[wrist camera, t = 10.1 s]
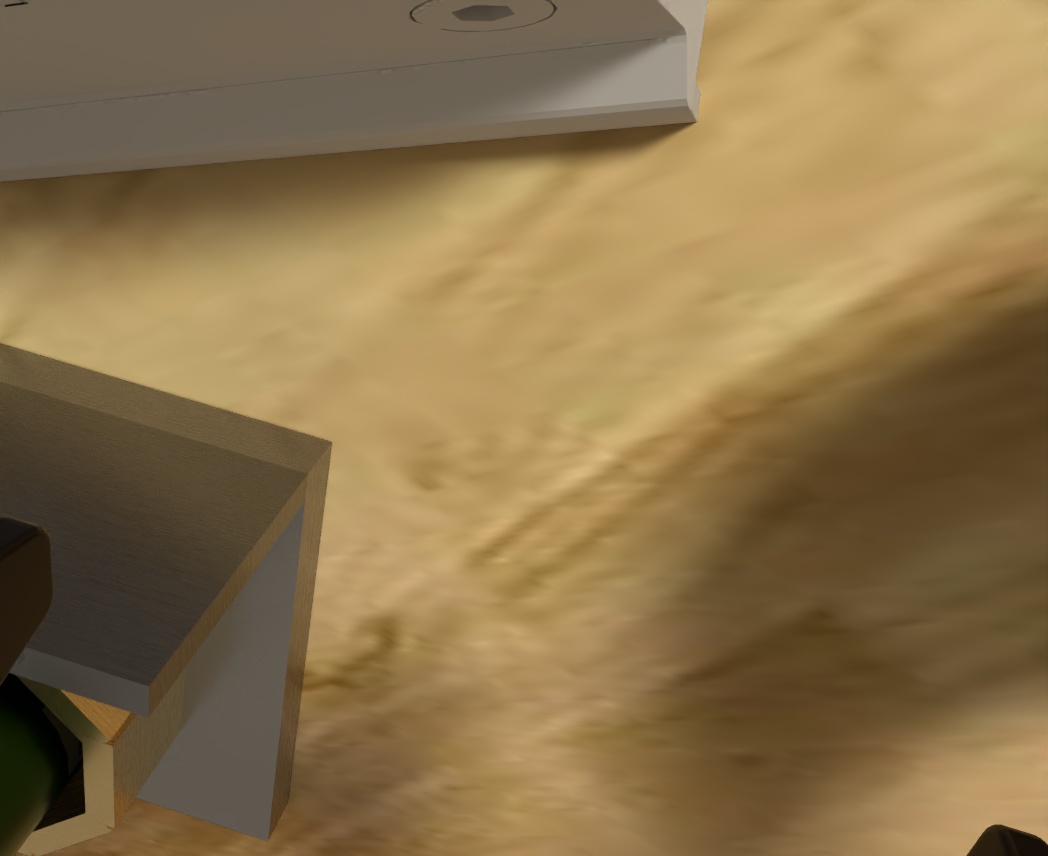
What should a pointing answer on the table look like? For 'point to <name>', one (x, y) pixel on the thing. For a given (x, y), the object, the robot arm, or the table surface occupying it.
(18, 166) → the white slotted casing
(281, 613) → the cup bracket
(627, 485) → the table surface
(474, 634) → the table surface
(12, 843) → the green soda can
